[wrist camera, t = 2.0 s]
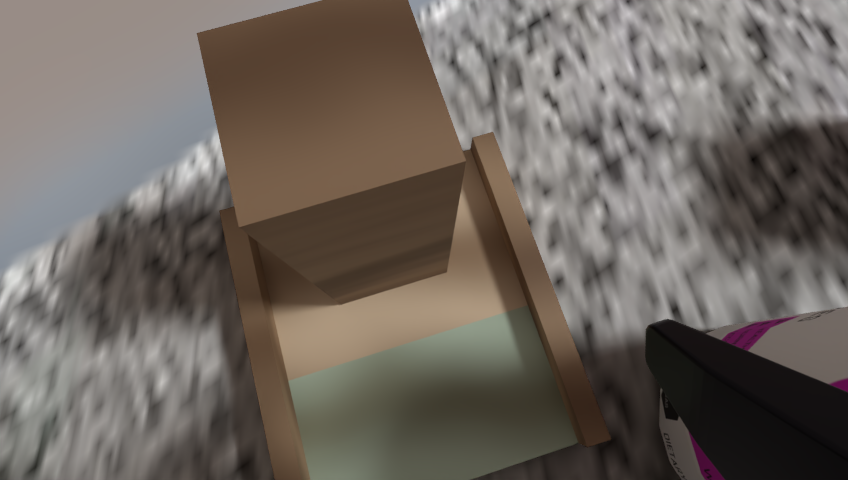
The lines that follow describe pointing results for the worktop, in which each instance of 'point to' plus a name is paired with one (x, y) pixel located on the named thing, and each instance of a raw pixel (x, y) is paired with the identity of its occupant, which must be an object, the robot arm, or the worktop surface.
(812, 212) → the worktop surface
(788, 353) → the supplement can
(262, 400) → the tray
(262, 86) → the walnut block
